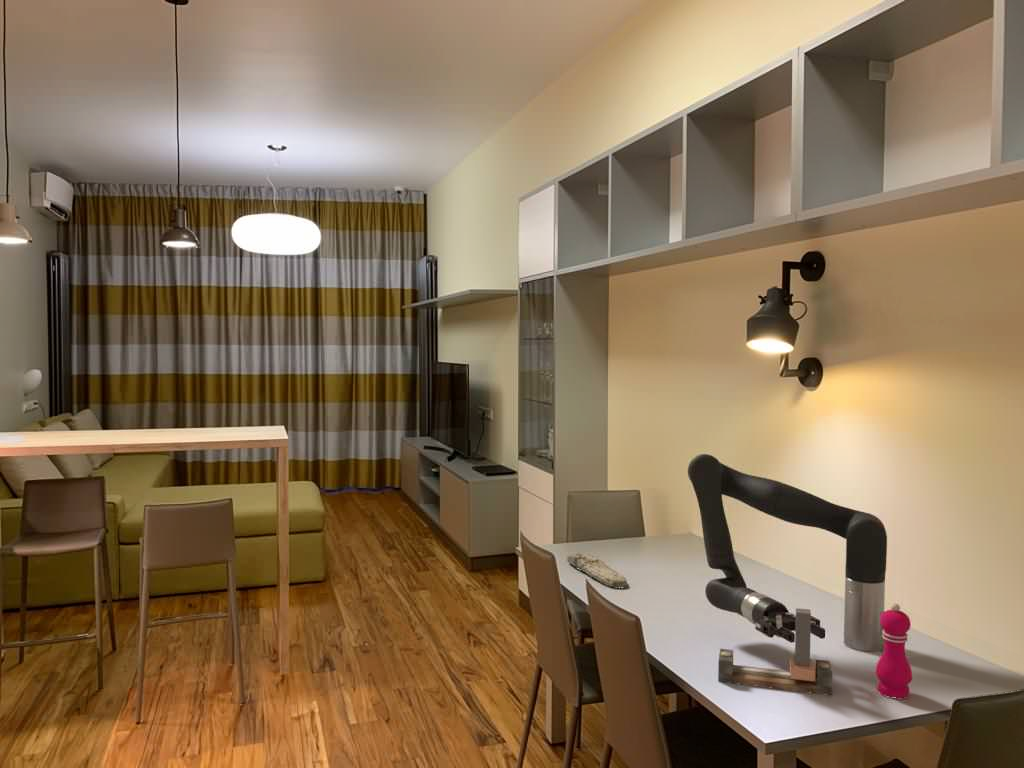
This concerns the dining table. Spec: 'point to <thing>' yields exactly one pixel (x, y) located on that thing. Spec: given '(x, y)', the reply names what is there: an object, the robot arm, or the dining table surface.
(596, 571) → the long grey stone
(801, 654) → the carriage
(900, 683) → the pepper mill
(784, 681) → the rail
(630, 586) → the dining table surface
